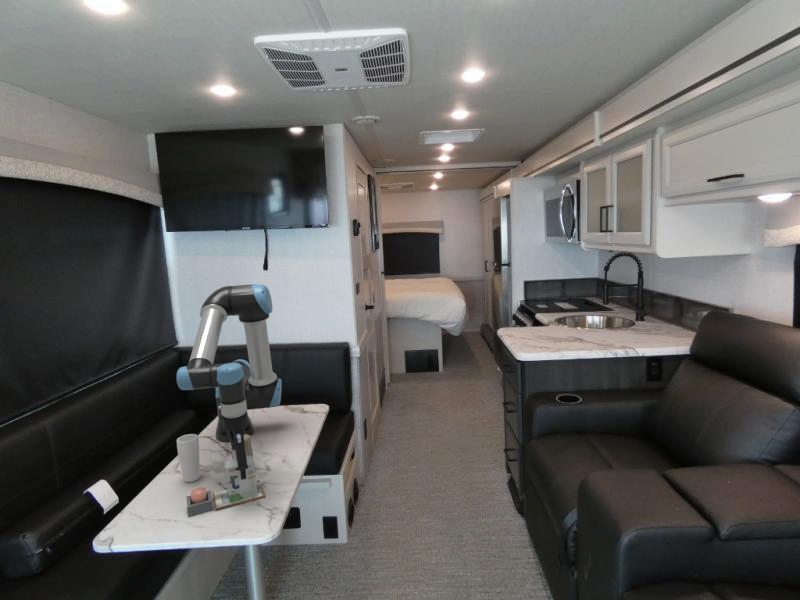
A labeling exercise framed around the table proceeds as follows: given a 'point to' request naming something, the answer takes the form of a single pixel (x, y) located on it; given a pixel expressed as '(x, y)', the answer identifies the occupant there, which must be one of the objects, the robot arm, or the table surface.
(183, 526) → the table surface
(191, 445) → the drinking glass
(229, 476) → the ink box
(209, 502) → the button housing
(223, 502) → the picture frame
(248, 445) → the carving
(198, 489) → the button
